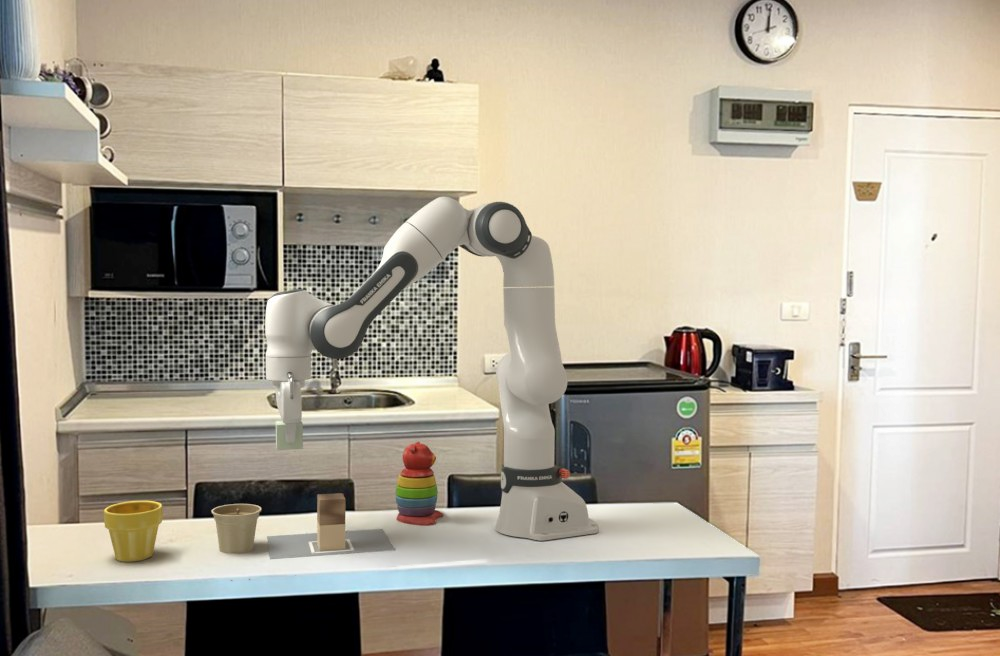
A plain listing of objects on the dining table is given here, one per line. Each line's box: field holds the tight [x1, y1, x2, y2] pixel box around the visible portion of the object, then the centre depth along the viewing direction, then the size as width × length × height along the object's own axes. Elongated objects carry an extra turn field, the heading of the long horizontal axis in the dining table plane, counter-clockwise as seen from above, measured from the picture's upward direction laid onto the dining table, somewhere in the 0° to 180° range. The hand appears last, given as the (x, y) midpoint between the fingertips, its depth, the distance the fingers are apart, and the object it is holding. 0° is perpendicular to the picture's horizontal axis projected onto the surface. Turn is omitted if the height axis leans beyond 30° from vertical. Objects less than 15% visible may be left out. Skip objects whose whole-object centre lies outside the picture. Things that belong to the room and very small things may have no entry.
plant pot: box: [103, 500, 163, 563], centre depth 170 cm, size 10×10×10 cm
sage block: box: [275, 420, 304, 451], centre depth 178 cm, size 5×5×5 cm
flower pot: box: [211, 503, 263, 555], centre depth 174 cm, size 9×9×9 cm
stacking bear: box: [395, 441, 444, 527], centre depth 198 cm, size 11×10×18 cm
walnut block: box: [316, 492, 346, 526], centre depth 176 cm, size 5×5×5 cm
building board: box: [266, 519, 396, 560], centre depth 179 cm, size 24×16×6 cm, turn 107°
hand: (289, 439), depth 178 cm, fingers closed on sage block, 5 cm apart
